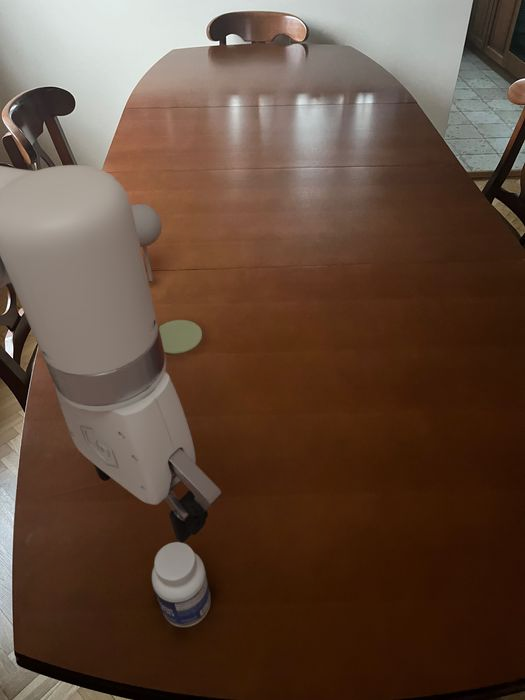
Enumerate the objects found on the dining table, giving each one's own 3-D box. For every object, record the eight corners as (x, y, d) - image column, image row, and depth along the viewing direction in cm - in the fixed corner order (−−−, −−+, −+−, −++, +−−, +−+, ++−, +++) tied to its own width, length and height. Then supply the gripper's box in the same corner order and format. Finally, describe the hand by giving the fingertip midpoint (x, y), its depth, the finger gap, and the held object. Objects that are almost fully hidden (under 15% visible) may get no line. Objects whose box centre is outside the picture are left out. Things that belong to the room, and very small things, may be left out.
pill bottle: (154, 593, 65) (139, 549, 58) (199, 571, 67) (189, 526, 60) (172, 638, 61) (157, 597, 55) (219, 614, 63) (210, 571, 56)
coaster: (177, 361, 92) (176, 359, 92) (142, 340, 96) (142, 338, 95) (212, 334, 96) (212, 332, 96) (177, 314, 100) (177, 313, 100)
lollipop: (123, 281, 107) (106, 208, 97) (153, 264, 111) (139, 191, 101) (148, 297, 104) (132, 222, 94) (178, 278, 108) (167, 205, 97)
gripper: (-14, 334, 42) (56, 476, 53) (154, 455, 33) (193, 591, 45) (72, 282, 46) (120, 424, 57) (241, 378, 37) (256, 521, 49)
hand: (152, 497), depth 51 cm, fingers open, 9 cm apart
